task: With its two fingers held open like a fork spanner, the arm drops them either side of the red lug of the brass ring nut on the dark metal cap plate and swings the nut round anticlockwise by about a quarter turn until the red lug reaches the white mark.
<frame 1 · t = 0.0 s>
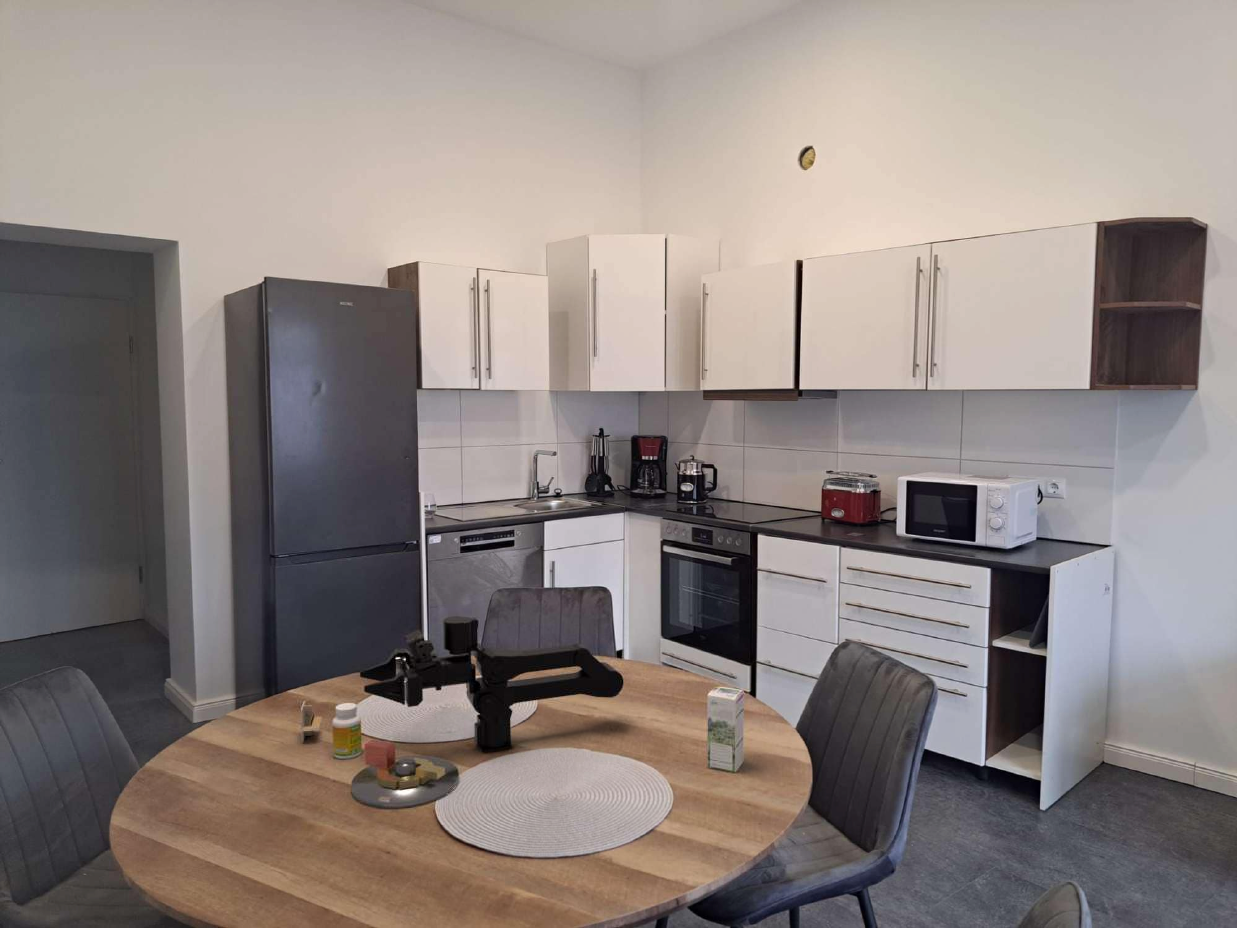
hand: (362, 681, 162), 17 cm above the table, tool horizontal, fingers open, 9 cm apart
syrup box: (725, 766, 162), on the table
architectural model: (308, 740, 177), on the table
cap plate: (405, 783, 155), on the table
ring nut: (404, 762, 155), point 4 cm above the table, hinge at 0.0°
supplement bottle: (347, 754, 169), on the table
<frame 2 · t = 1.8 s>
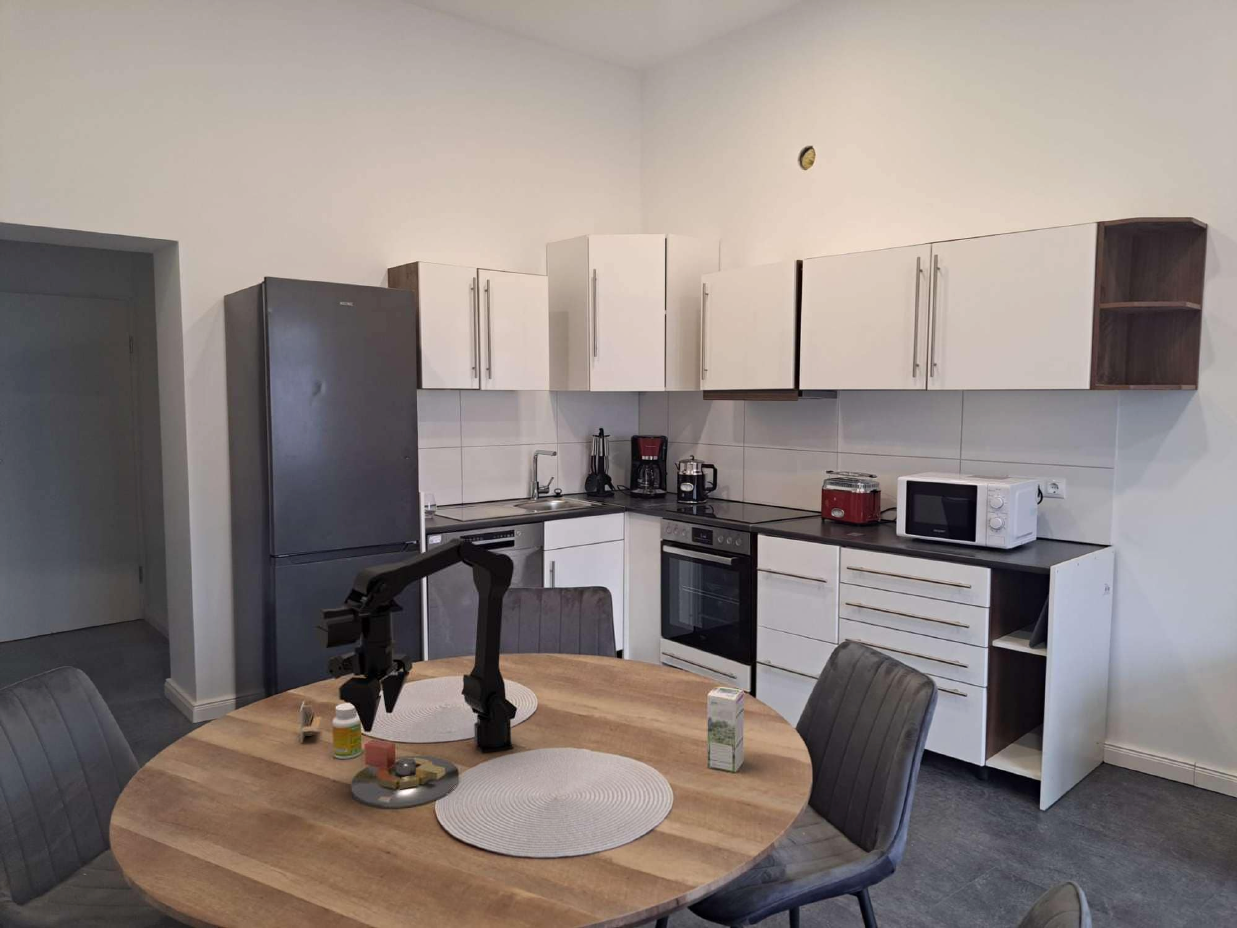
hand: (378, 721, 155), 11 cm above the table, tool pointing down, fingers open, 9 cm apart
nothing on the table moved.
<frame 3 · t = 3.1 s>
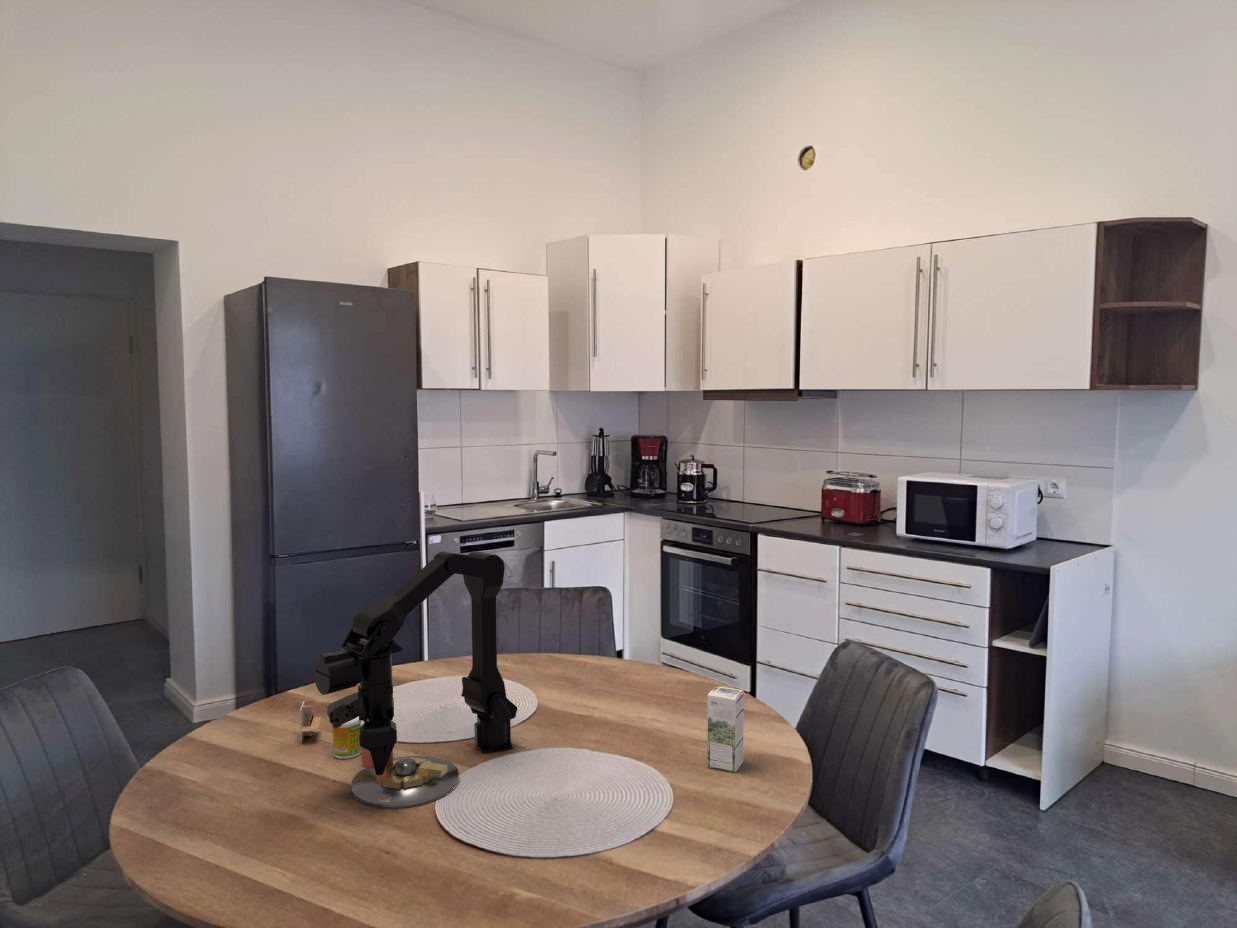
hand: (379, 763, 154), 4 cm above the table, tool pointing down, fingers open, 9 cm apart
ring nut: (404, 762, 155), point 4 cm above the table, hinge at 8.6°, touching gripper
everything else where it was.
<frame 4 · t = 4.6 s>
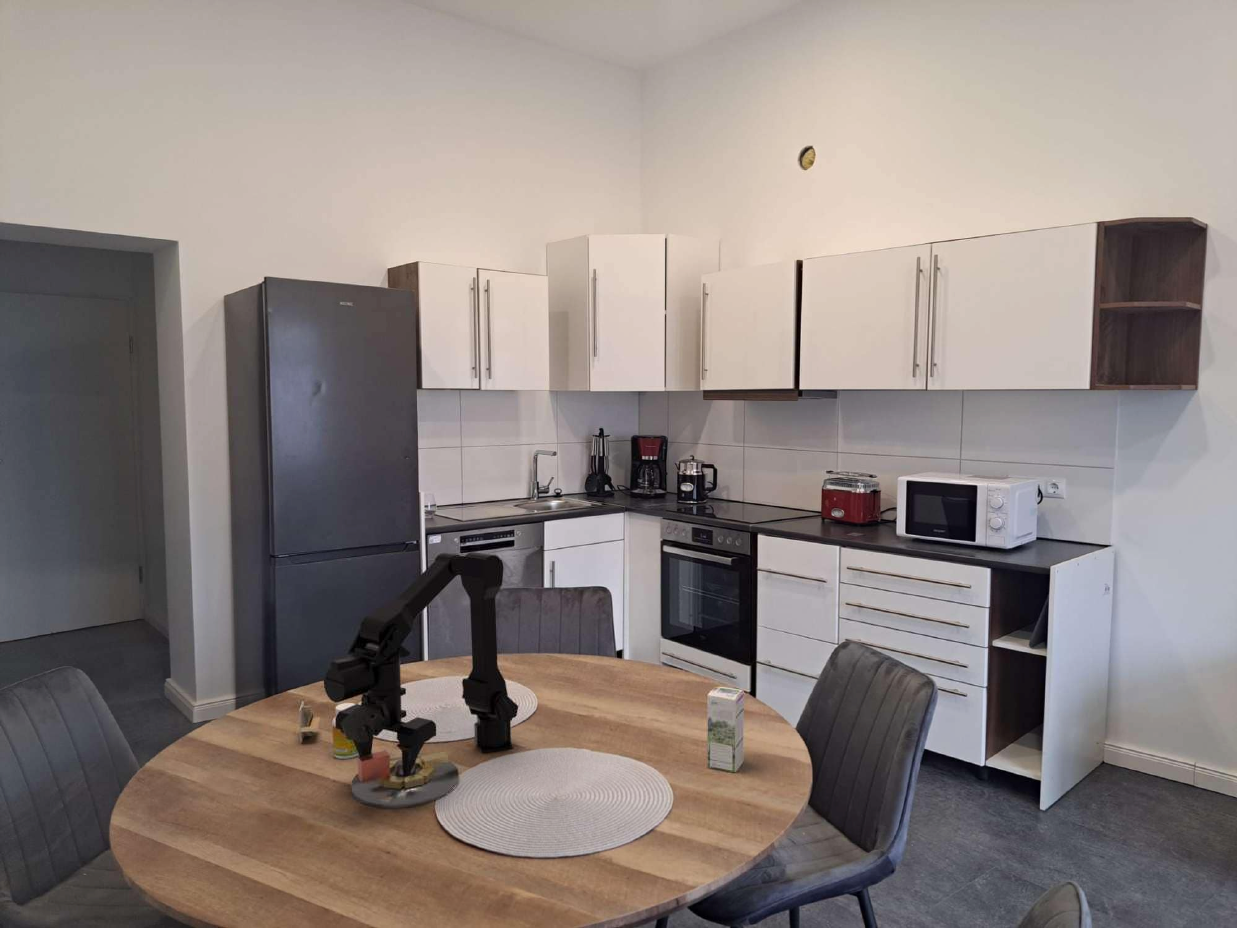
hand: (386, 771, 151), 4 cm above the table, tool pointing down, fingers open, 9 cm apart
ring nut: (404, 762, 155), point 4 cm above the table, hinge at 55.7°, touching gripper
everything else where it was.
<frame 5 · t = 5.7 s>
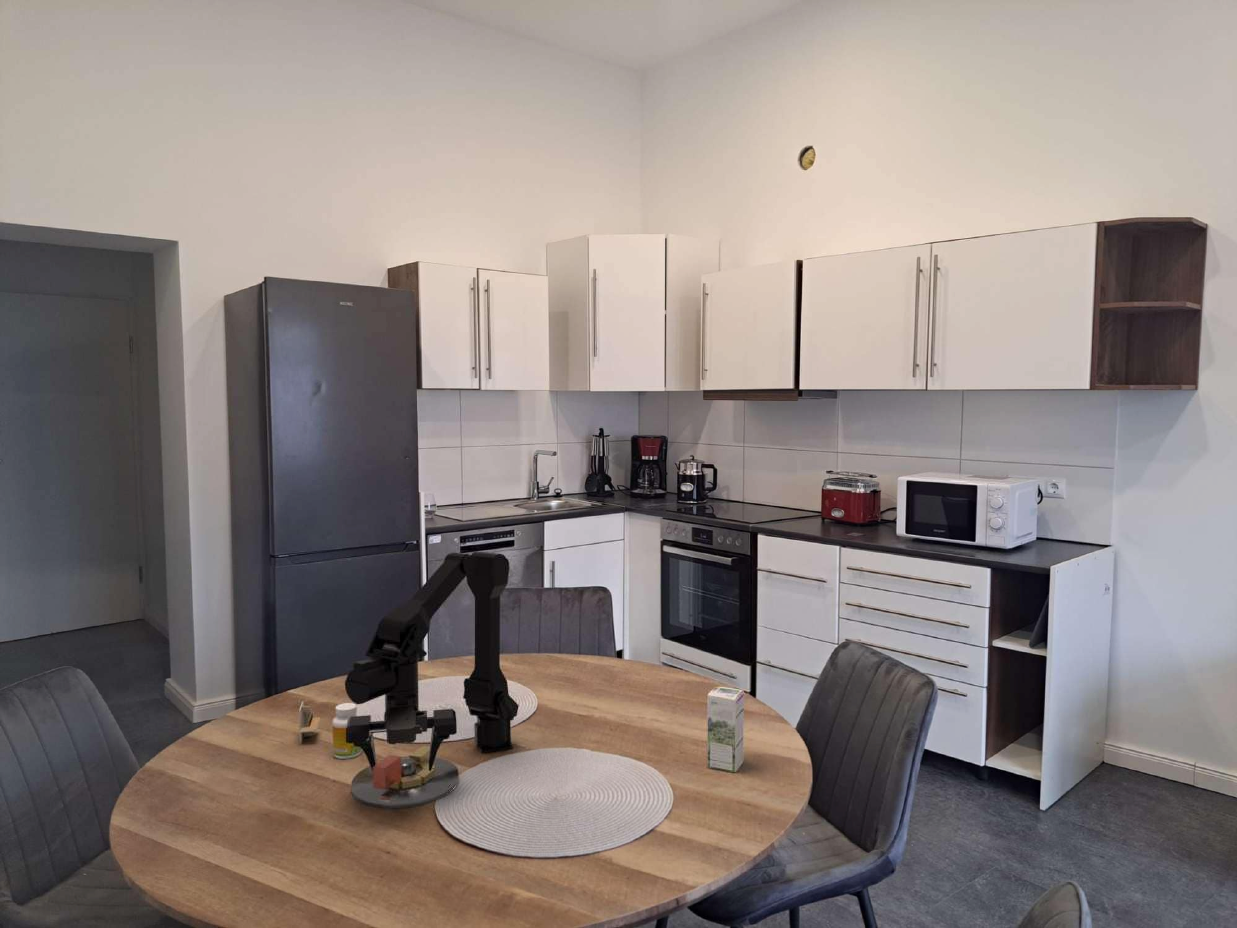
hand: (402, 772, 150), 4 cm above the table, tool pointing down, fingers open, 9 cm apart
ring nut: (404, 762, 155), point 4 cm above the table, hinge at 95.2°, touching gripper
everything else where it was.
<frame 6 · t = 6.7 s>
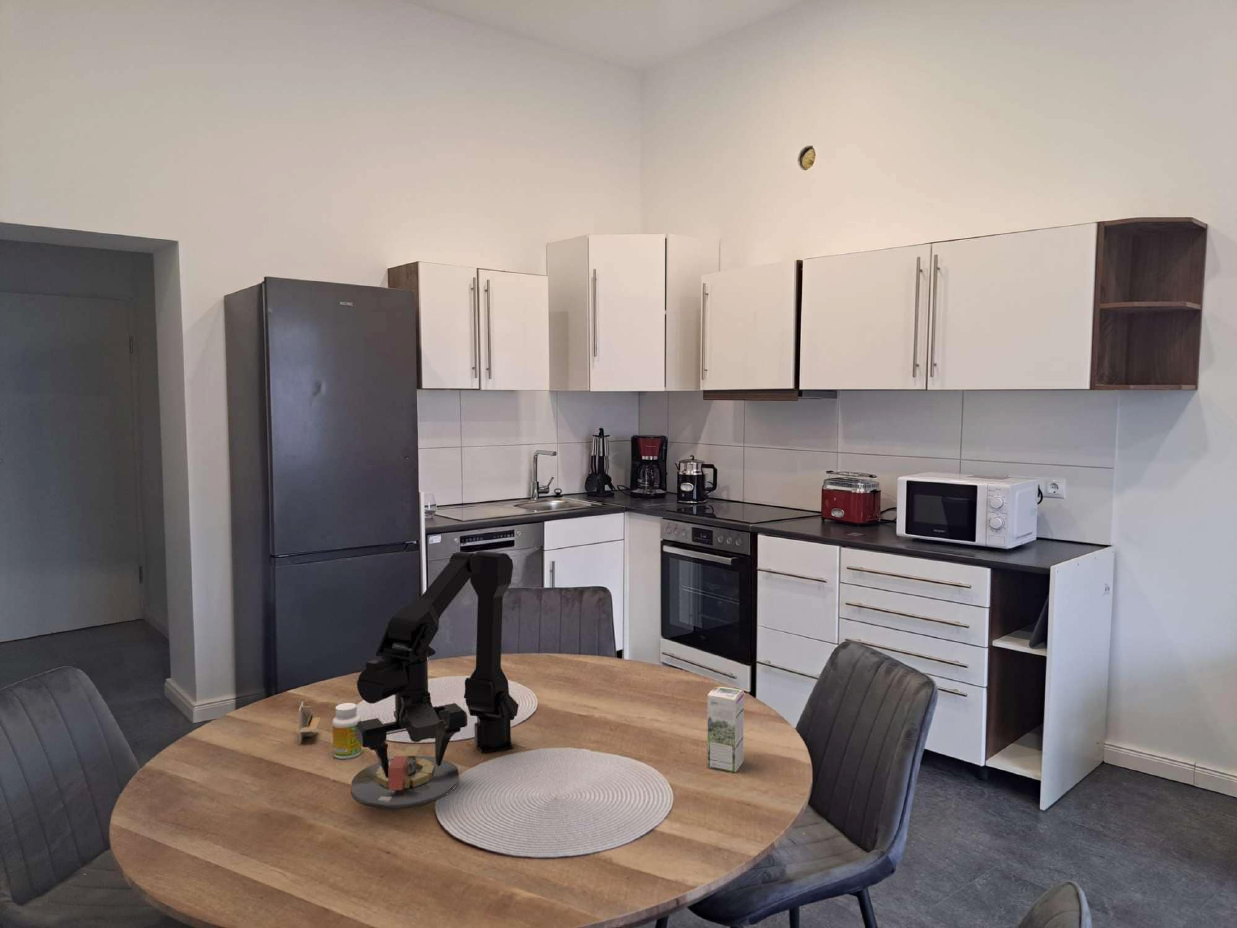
hand: (413, 771, 151), 4 cm above the table, tool pointing down, fingers open, 9 cm apart
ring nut: (405, 762, 155), point 4 cm above the table, hinge at 115.9°, touching gripper
everything else where it was.
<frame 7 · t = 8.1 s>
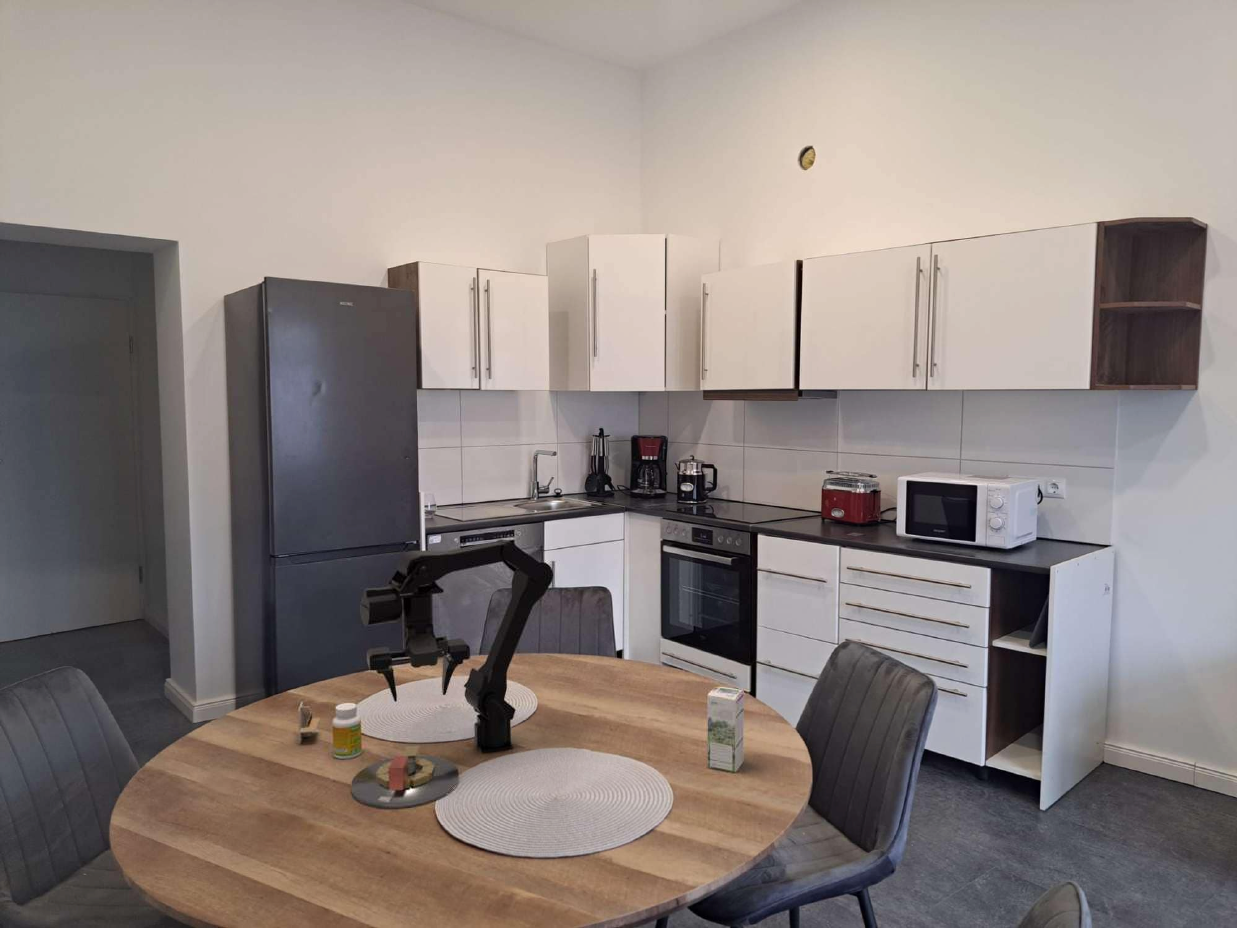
hand: (419, 697, 163), 13 cm above the table, tool pointing down, fingers open, 9 cm apart
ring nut: (405, 762, 155), point 4 cm above the table, hinge at 116.5°
everything else where it was.
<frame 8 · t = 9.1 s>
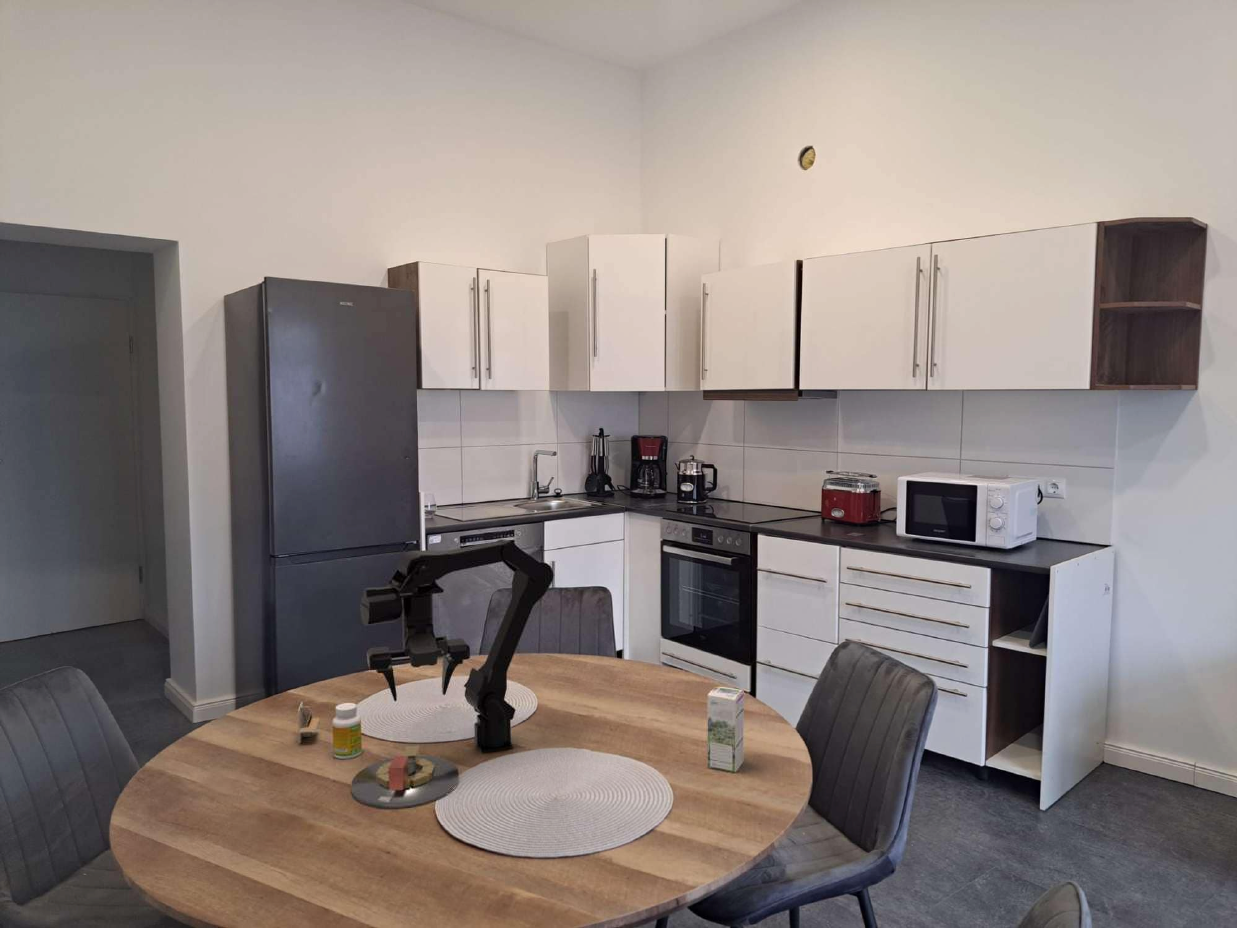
hand: (419, 697, 163), 13 cm above the table, tool pointing down, fingers open, 9 cm apart
nothing on the table moved.
at the end: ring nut at +116° (first picture: +0°) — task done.
